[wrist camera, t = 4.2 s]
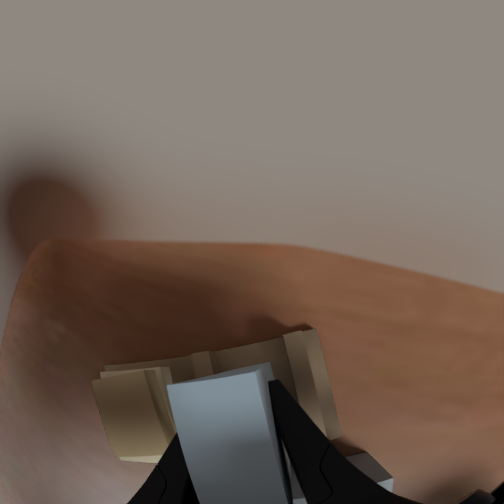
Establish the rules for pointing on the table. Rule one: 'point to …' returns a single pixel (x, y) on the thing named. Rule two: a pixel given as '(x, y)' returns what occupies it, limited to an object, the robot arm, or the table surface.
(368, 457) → the holder
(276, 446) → the panel
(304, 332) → the rack
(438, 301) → the table surface
